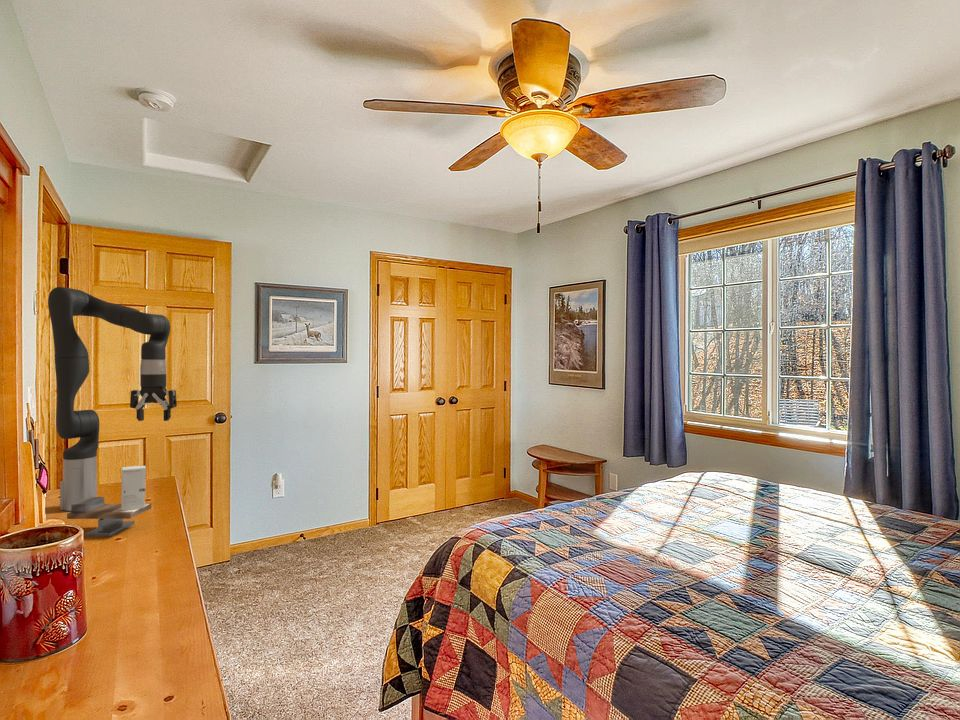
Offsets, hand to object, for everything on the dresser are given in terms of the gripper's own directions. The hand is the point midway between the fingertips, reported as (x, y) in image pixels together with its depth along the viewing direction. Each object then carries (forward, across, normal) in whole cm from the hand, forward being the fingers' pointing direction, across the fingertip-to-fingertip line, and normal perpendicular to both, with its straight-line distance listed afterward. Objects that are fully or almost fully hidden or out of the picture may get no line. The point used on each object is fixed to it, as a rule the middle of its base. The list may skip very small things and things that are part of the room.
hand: (153, 420), depth 178 cm
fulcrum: (+30, 0, +22) cm, 37 cm away
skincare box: (+23, -7, +22) cm, 33 cm away
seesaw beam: (+25, 0, +22) cm, 33 cm away
